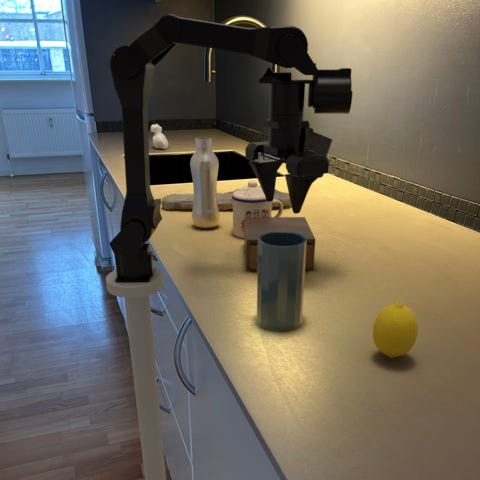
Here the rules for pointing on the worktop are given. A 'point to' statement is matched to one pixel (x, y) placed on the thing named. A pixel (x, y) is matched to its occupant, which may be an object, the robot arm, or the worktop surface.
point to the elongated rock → (222, 199)
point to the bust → (159, 137)
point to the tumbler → (280, 280)
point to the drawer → (255, 248)
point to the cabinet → (275, 224)
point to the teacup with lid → (250, 206)
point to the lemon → (395, 330)
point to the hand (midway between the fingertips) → (282, 207)
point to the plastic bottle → (204, 184)
